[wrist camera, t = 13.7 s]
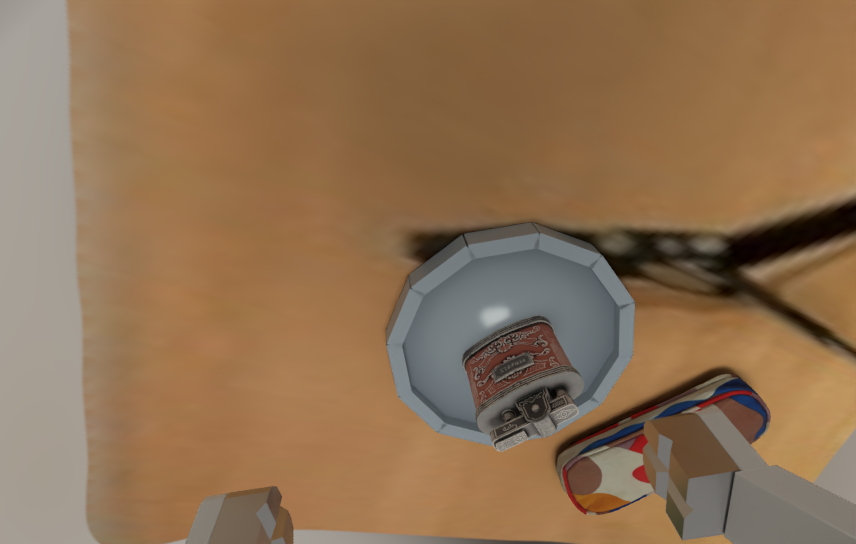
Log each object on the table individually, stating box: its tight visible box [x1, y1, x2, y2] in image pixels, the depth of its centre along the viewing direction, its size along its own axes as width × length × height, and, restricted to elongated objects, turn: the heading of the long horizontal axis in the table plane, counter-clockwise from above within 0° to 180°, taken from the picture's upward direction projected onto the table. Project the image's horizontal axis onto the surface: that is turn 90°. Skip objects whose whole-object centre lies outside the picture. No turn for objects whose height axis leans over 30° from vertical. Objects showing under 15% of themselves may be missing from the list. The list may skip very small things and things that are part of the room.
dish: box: [386, 222, 635, 446], centre depth 42 cm, size 20×20×2 cm
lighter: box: [462, 315, 584, 452], centre depth 37 cm, size 8×3×10 cm, turn 119°
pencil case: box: [556, 374, 771, 515], centre depth 47 cm, size 11×20×5 cm, turn 105°
